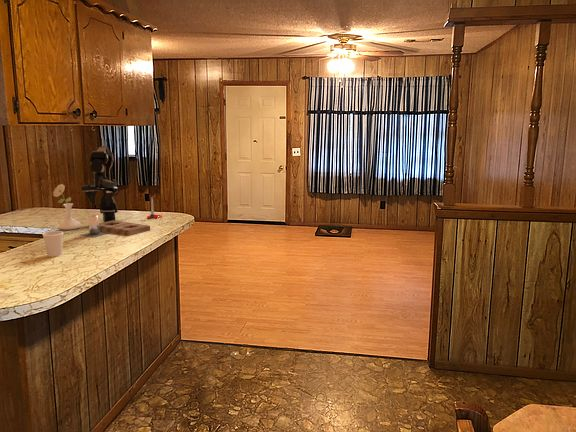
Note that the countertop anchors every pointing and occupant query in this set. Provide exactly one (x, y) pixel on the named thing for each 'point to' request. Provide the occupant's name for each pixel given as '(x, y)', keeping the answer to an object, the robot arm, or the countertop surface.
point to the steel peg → (93, 224)
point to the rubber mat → (94, 235)
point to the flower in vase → (69, 221)
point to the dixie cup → (53, 242)
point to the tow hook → (153, 211)
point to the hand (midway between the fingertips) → (101, 205)
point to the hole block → (123, 227)
